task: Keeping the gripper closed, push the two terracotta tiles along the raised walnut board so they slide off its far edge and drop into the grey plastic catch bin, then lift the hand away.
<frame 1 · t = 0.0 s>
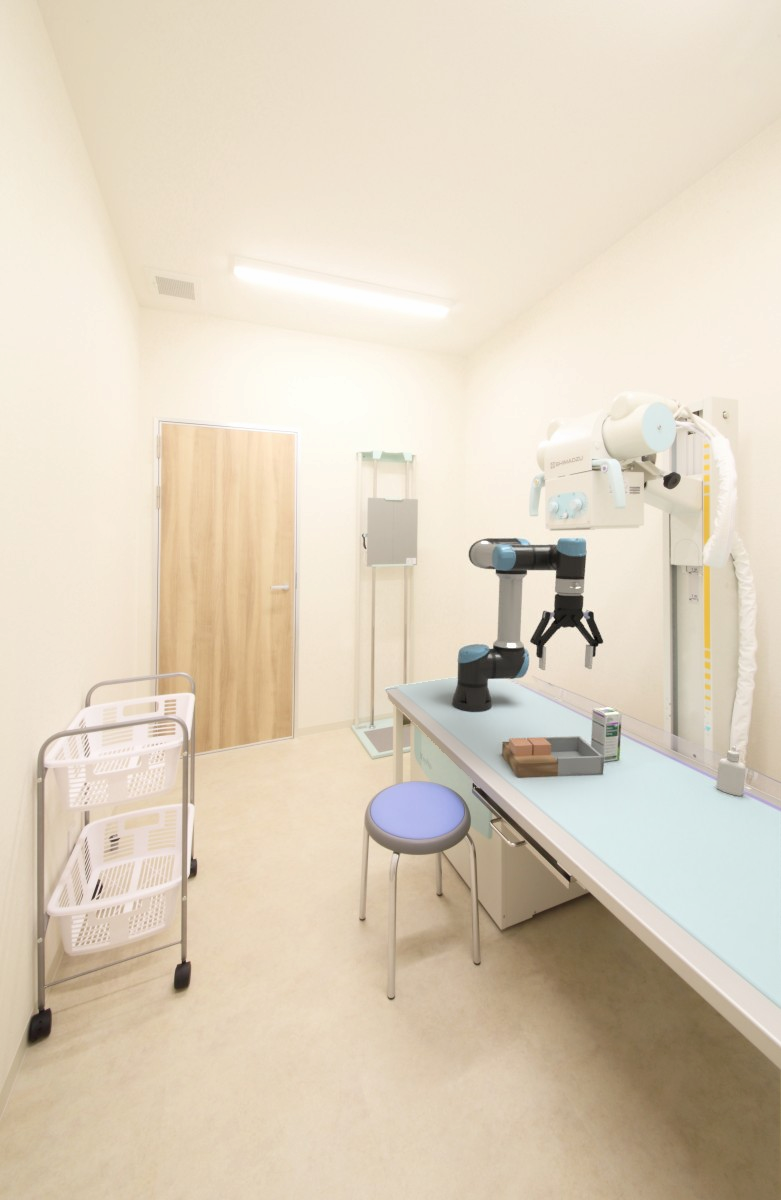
hand: (565, 668, 134), 28 cm above the table, fingers open, 13 cm apart
tile b: (538, 751, 135), point 4 cm above the table, touching board
syrup box: (604, 757, 141), on the table
catch bin: (568, 763, 137), on the table
eye dropper bottle: (729, 791, 122), on the table
board: (528, 764, 136), on the table
tile a: (520, 751, 135), point 4 cm above the table, touching board
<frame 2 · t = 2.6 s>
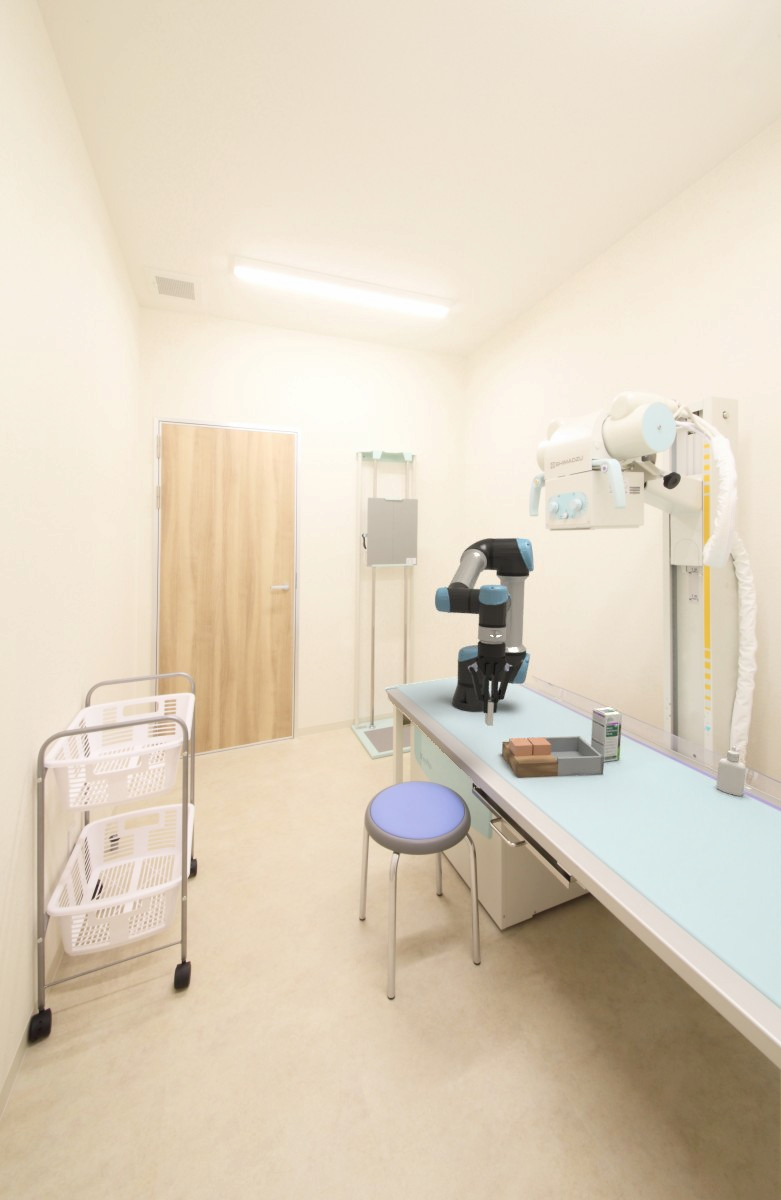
hand: (488, 723, 133), 13 cm above the table, fingers closed
nothing on the table moved.
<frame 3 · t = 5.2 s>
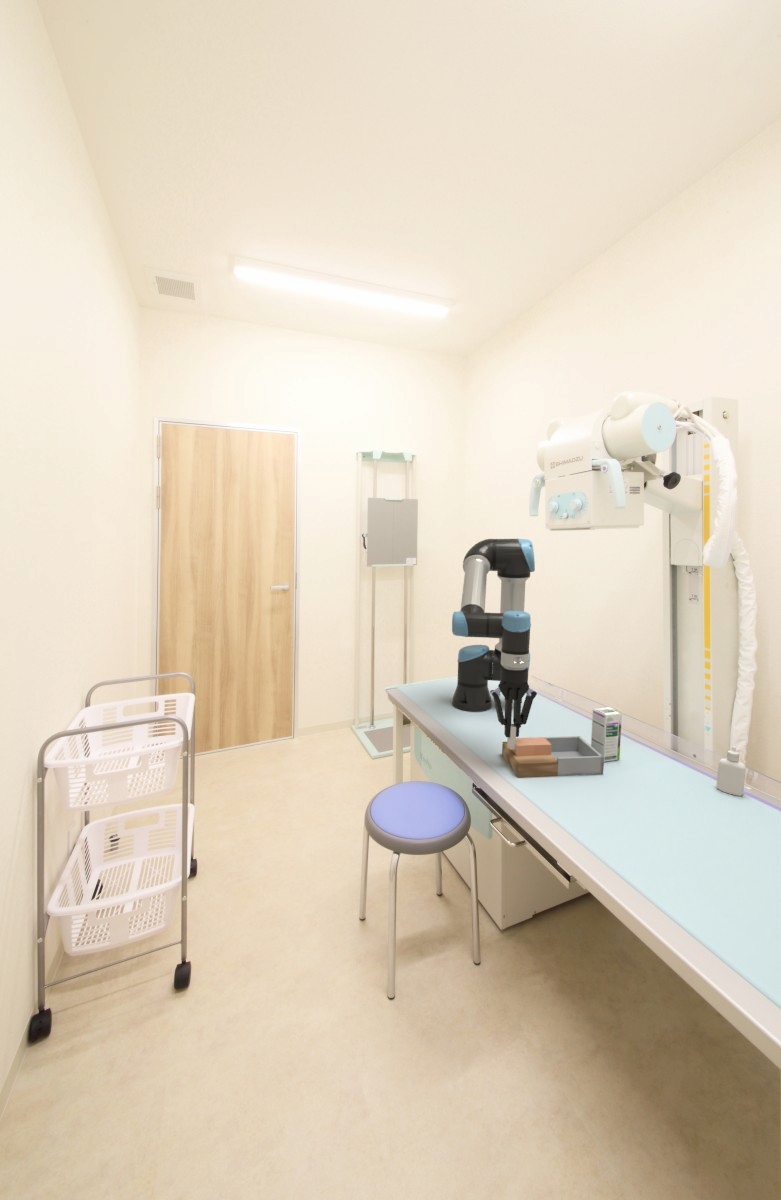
hand: (511, 747, 134), 5 cm above the table, fingers closed
tile b: (538, 751, 135), point 4 cm above the table, touching tile a
tile a: (521, 751, 135), point 4 cm above the table, touching gripper, tile b
everything else where it was.
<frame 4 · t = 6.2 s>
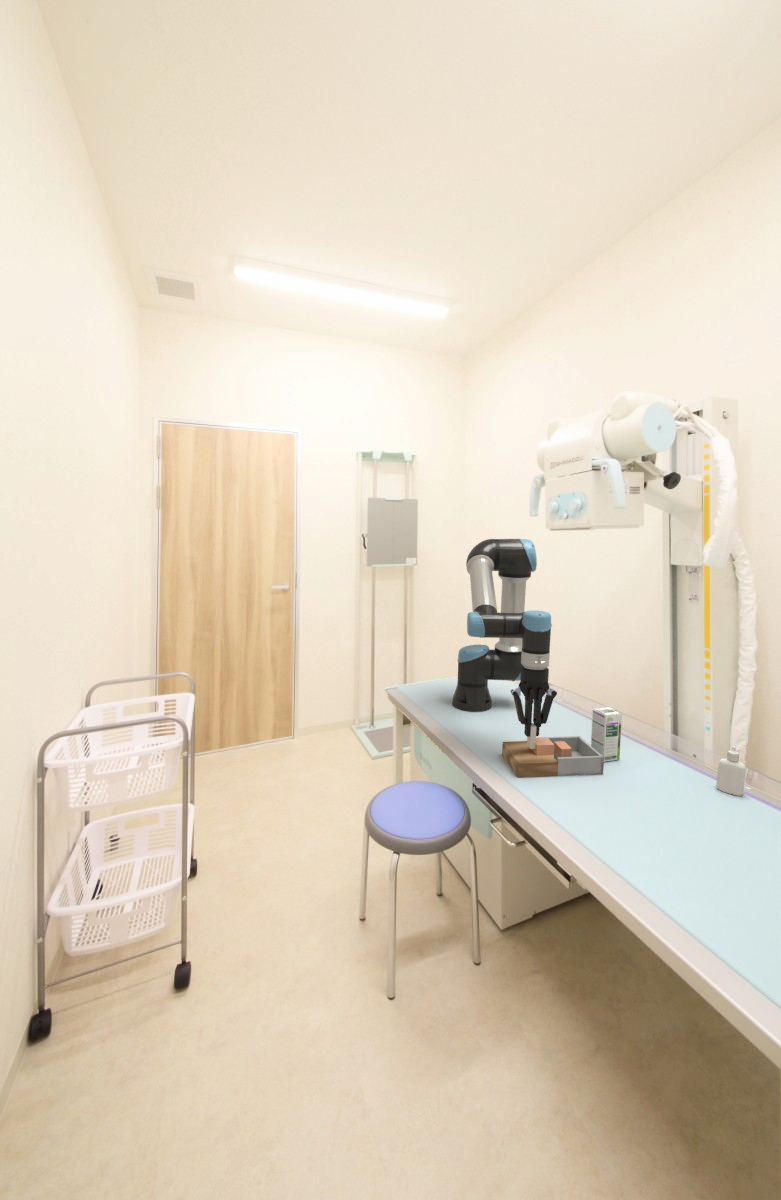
hand: (531, 746, 135), 5 cm above the table, fingers closed
tile b: (557, 753, 136), point 3 cm above the table, tilted 88°, touching catch bin
tile a: (541, 751, 135), point 4 cm above the table, touching gripper
everything else where it was.
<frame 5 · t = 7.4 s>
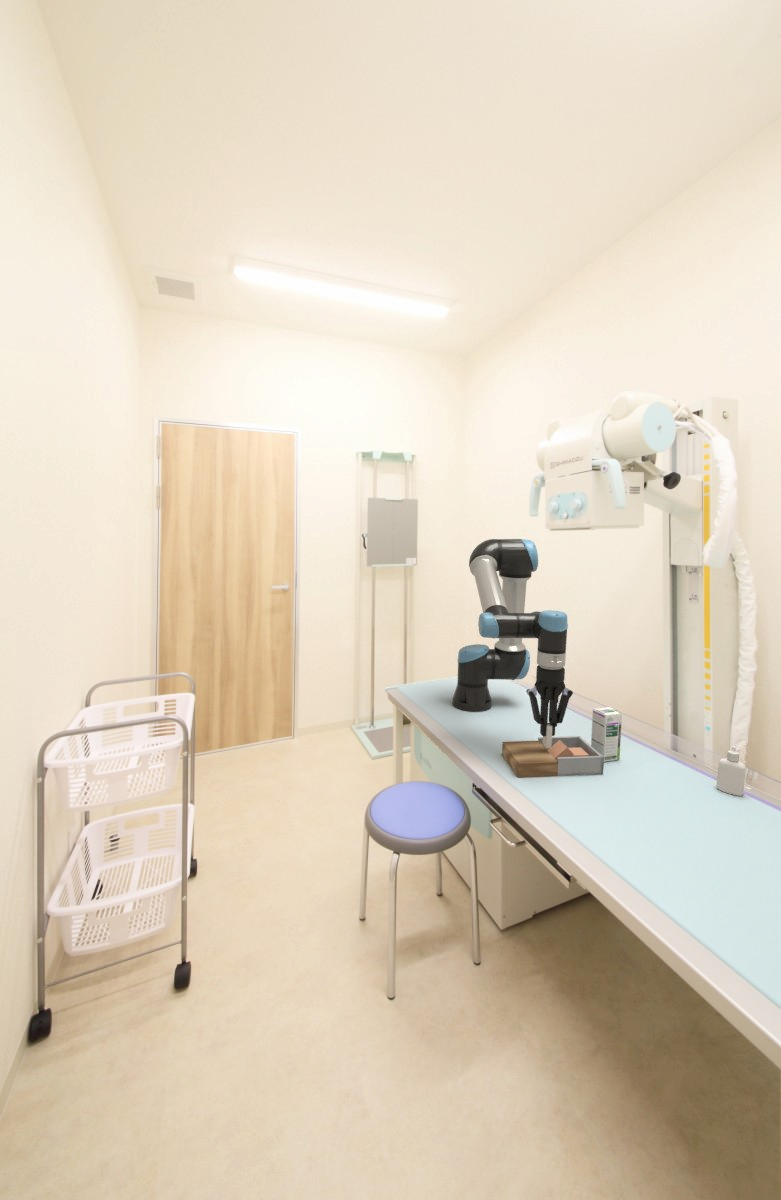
hand: (546, 746, 135), 5 cm above the table, fingers closed
tile b: (576, 751, 136), point 4 cm above the table, tilted 180°, touching catch bin, tile a
tile a: (563, 756, 136), point 2 cm above the table, tilted 43°, touching catch bin, tile b
everything else where it was.
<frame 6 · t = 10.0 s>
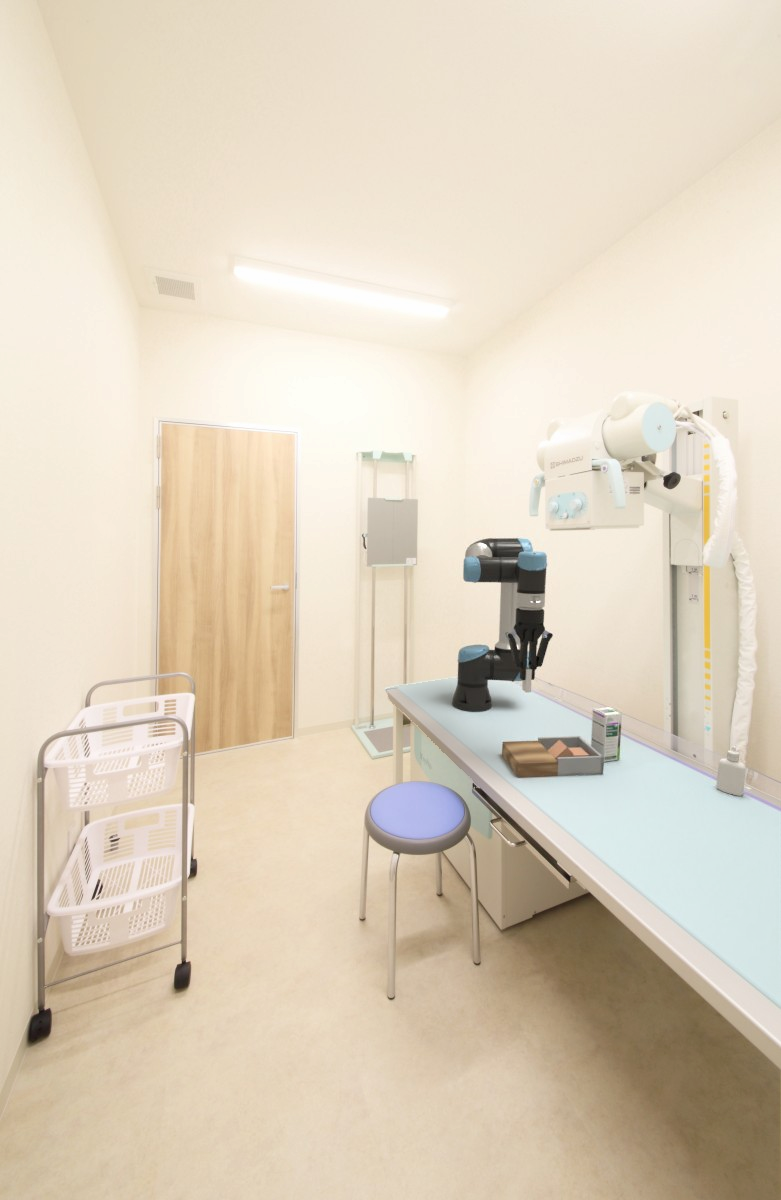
hand: (526, 690, 133), 22 cm above the table, fingers closed
nothing on the table moved.
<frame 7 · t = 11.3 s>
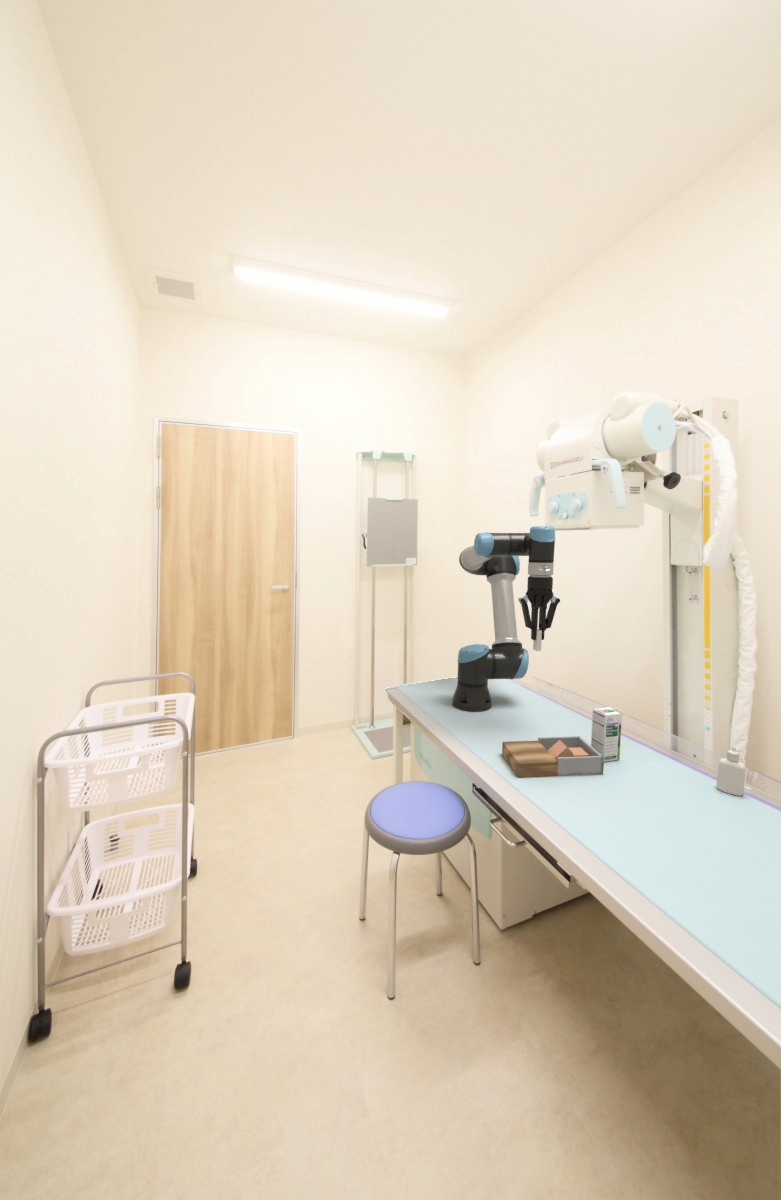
hand: (537, 649, 150), 29 cm above the table, fingers closed
nothing on the table moved.
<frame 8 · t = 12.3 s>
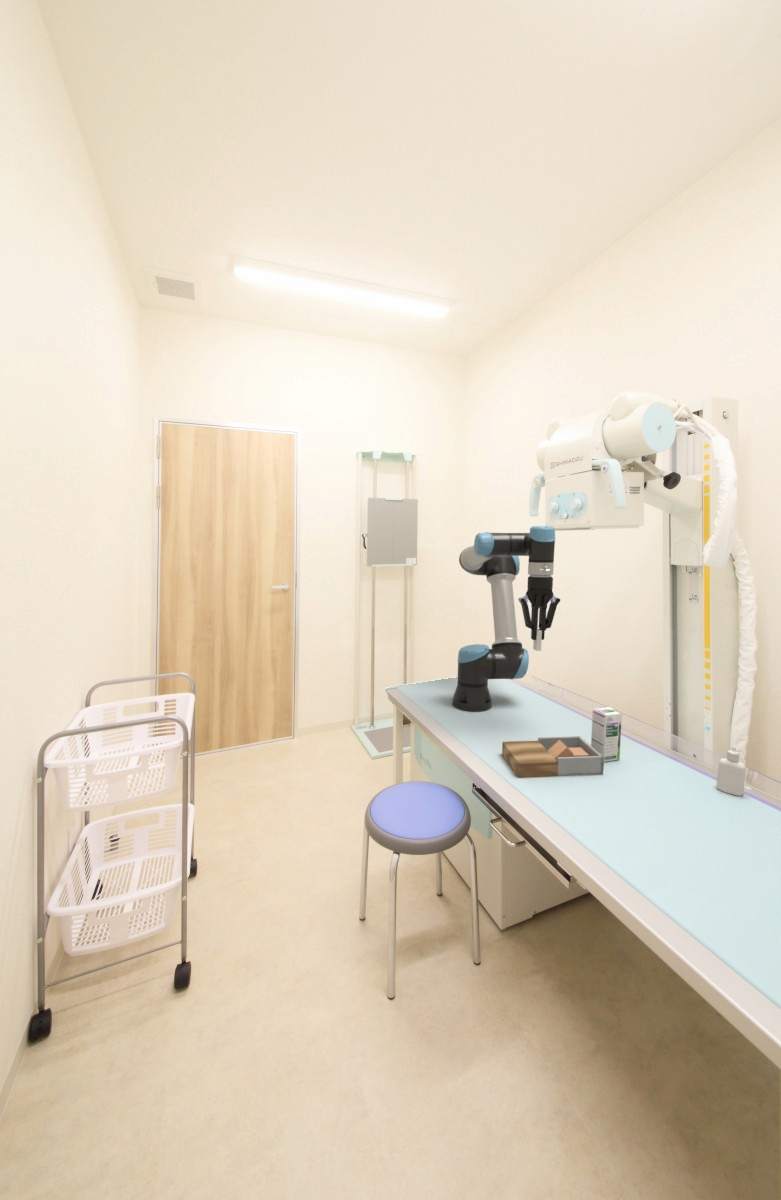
hand: (537, 649, 150), 29 cm above the table, fingers closed
nothing on the table moved.
at the end: tile a inside the target area (2.8 cm from its centre), point 2.3 cm above the table; tile b inside the target area (1.1 cm from its centre), point 3.6 cm above the table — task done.
